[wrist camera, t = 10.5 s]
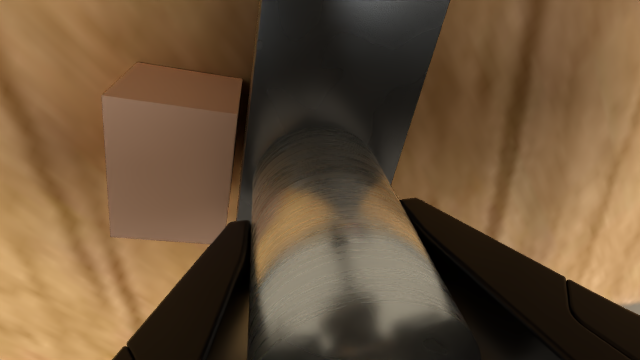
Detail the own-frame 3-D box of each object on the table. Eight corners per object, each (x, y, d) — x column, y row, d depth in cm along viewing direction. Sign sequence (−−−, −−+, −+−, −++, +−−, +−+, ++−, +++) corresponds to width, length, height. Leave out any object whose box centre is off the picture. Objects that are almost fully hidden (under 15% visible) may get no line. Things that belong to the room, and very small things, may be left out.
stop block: (136, 61, 11) (101, 95, 9) (242, 78, 12) (237, 114, 10) (139, 181, 13) (110, 236, 11) (230, 190, 14) (223, 245, 11)
